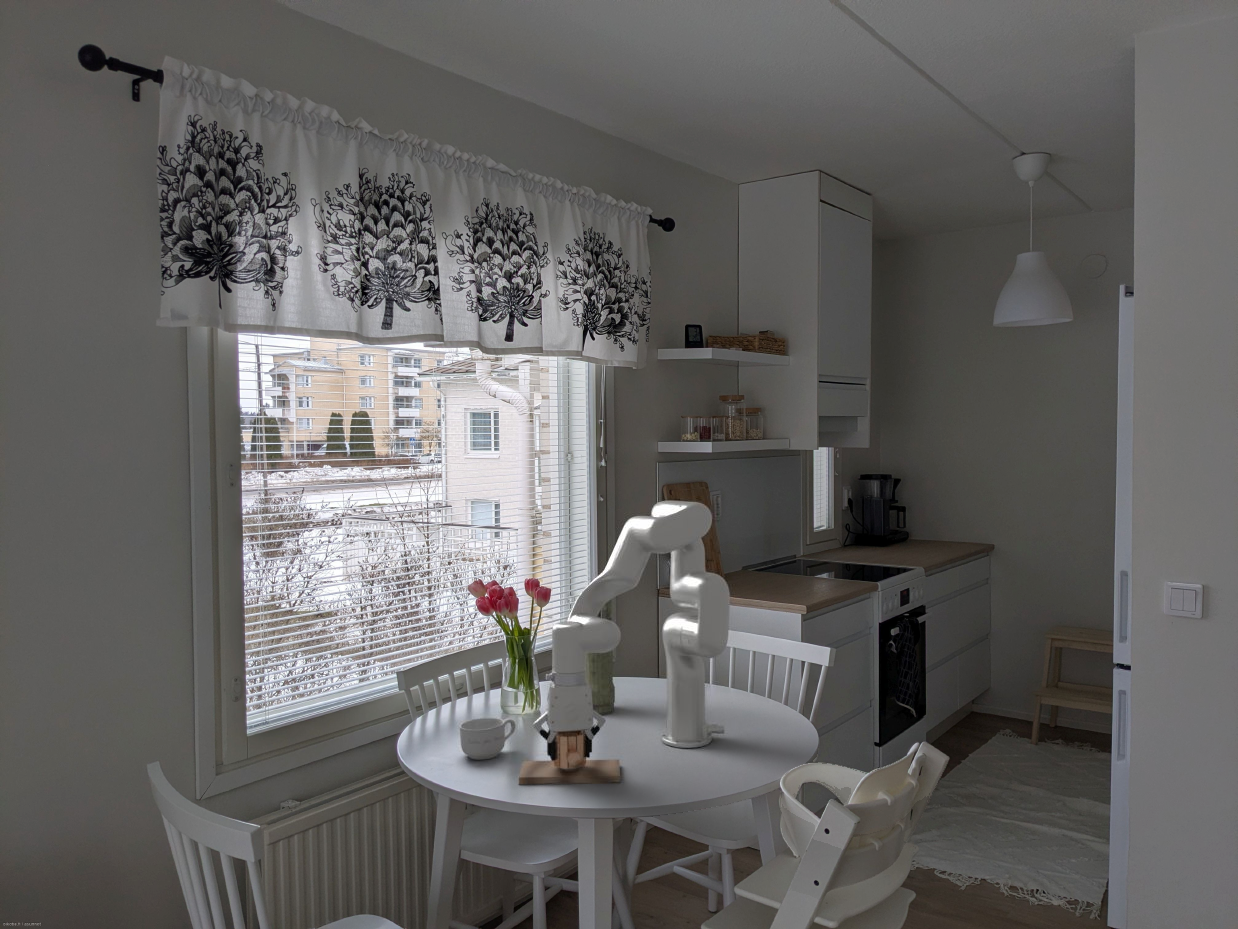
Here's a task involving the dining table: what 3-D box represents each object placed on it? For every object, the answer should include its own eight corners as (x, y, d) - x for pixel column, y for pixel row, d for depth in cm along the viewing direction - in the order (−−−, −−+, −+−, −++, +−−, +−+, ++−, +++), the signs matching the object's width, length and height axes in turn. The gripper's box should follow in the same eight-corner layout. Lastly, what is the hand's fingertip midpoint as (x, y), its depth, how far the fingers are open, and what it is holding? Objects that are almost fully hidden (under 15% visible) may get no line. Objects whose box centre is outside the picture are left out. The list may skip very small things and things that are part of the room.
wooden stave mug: (582, 756, 197) (582, 725, 197) (592, 773, 186) (591, 741, 186) (551, 759, 195) (551, 728, 195) (558, 776, 184) (558, 744, 184)
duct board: (619, 766, 198) (618, 733, 198) (620, 782, 188) (619, 748, 188) (523, 767, 197) (522, 735, 197) (518, 784, 187) (518, 750, 187)
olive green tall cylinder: (604, 703, 248) (603, 581, 247) (622, 714, 237) (620, 587, 237) (575, 707, 244) (574, 583, 244) (592, 718, 233) (591, 589, 233)
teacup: (465, 766, 198) (465, 732, 198) (455, 752, 208) (454, 719, 208) (523, 757, 204) (523, 724, 204) (510, 743, 214) (510, 711, 214)
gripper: (532, 684, 187) (532, 766, 187) (610, 679, 190) (611, 759, 191) (528, 676, 194) (528, 754, 194) (604, 671, 198) (604, 748, 198)
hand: (569, 756), depth 192 cm, fingers closed on wooden stave mug, 7 cm apart
